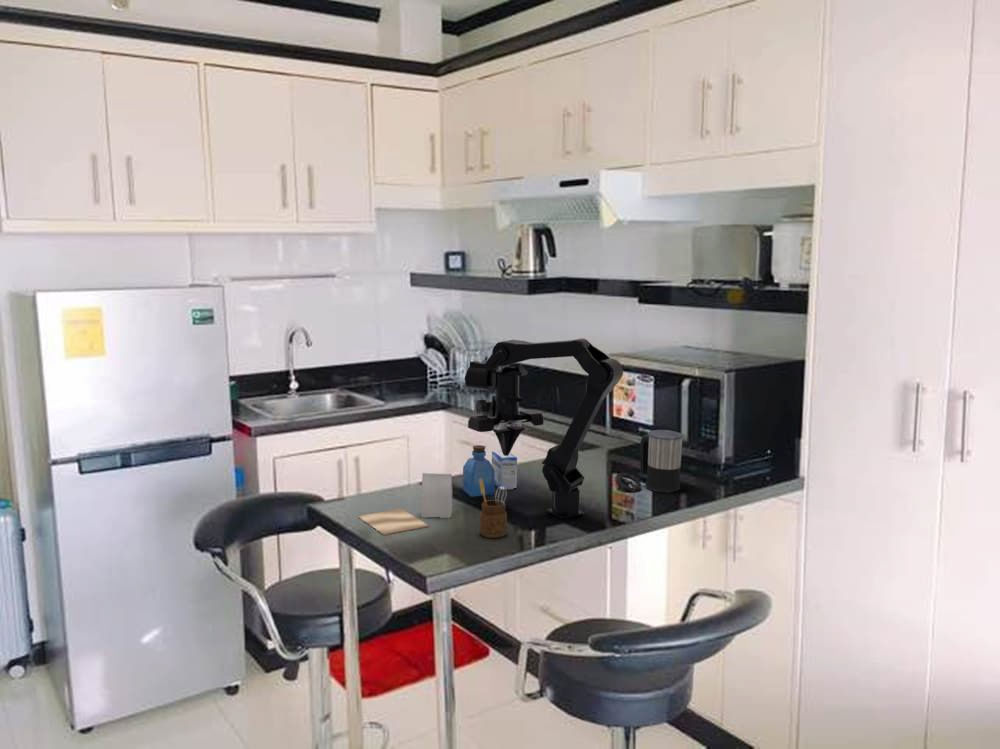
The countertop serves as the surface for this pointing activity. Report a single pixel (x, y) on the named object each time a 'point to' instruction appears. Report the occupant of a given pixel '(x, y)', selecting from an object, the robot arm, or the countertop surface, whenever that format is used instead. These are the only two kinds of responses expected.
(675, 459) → the milk frother
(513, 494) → the countertop surface
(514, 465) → the medicine box
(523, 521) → the countertop surface
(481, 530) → the utensil holder
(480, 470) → the perfume bottle
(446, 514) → the small cardboard carton
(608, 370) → the robot arm
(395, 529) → the cork mat
